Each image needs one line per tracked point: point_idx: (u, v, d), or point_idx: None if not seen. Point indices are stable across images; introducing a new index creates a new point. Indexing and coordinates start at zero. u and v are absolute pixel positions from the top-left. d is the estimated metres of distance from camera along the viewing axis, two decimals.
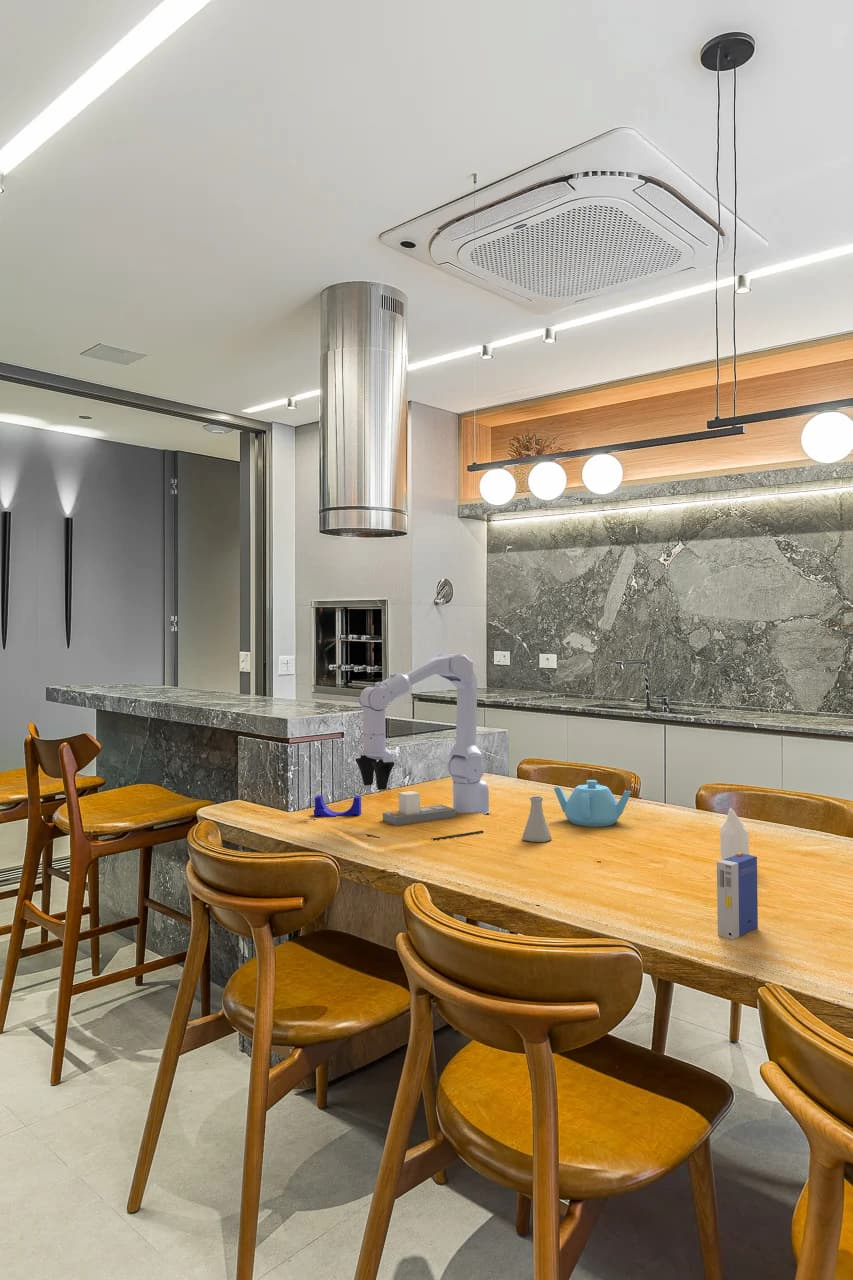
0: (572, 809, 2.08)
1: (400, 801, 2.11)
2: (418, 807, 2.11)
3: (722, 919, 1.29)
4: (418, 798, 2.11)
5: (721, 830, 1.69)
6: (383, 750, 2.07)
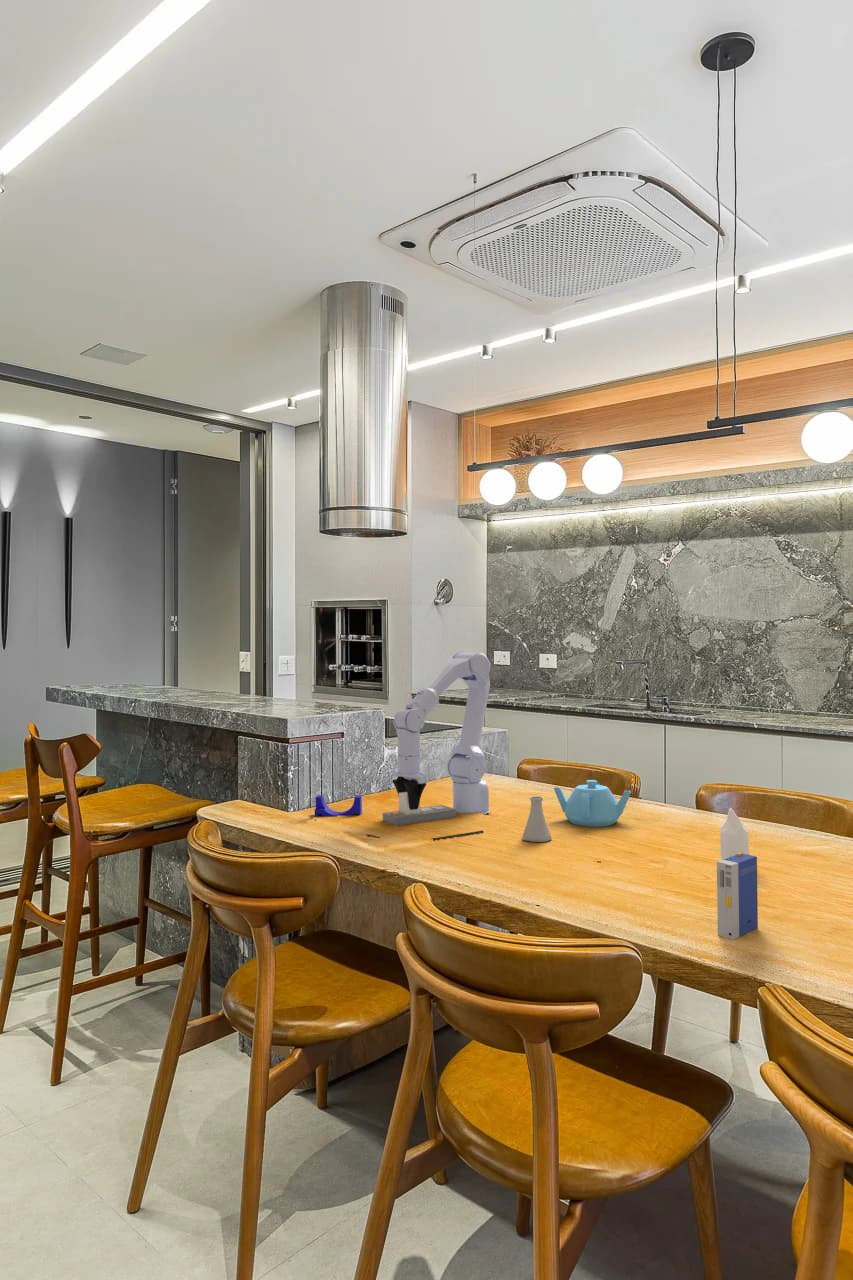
0: (572, 809, 2.08)
1: (400, 801, 2.11)
2: (418, 807, 2.11)
3: (722, 919, 1.29)
4: None
5: (721, 830, 1.69)
6: (418, 771, 2.10)
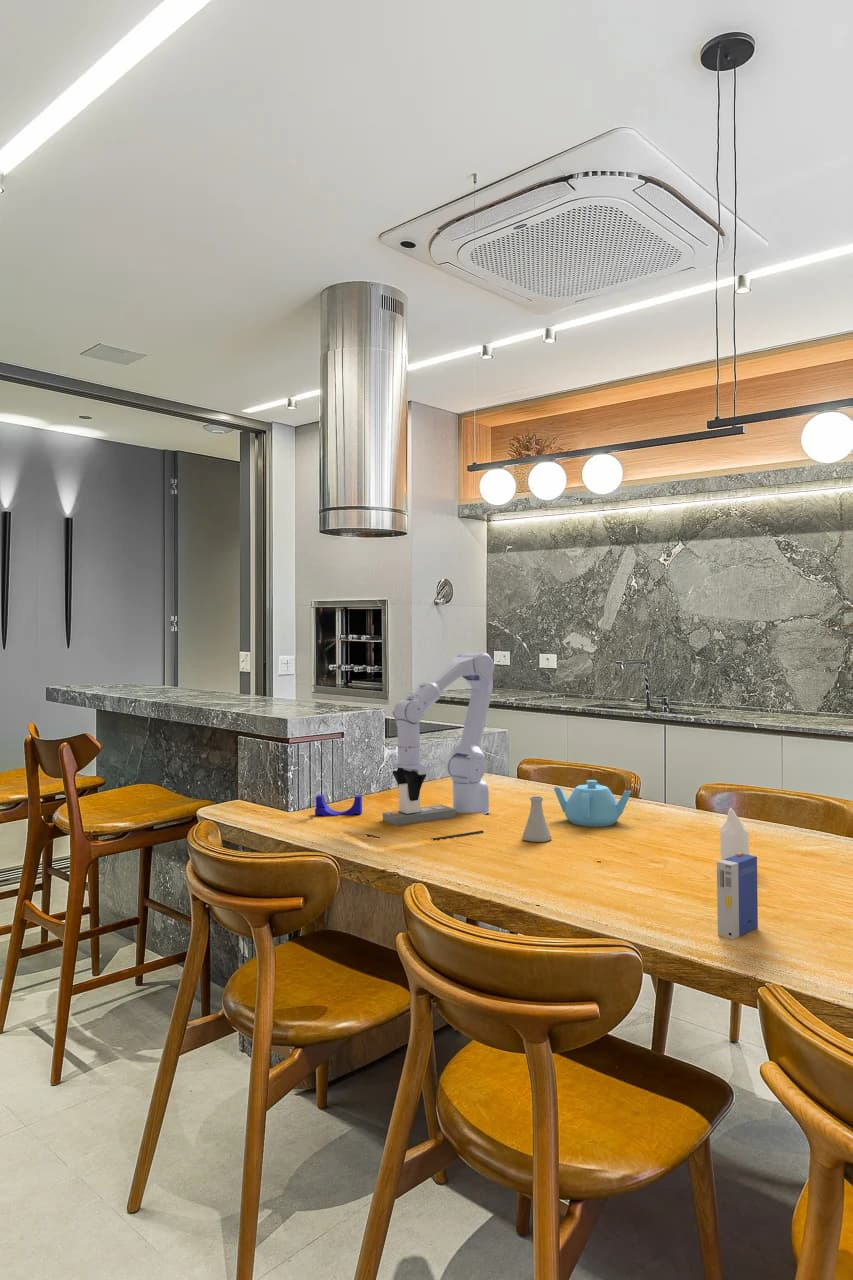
0: (572, 809, 2.08)
1: (400, 792, 2.11)
2: (418, 798, 2.11)
3: (722, 919, 1.29)
4: None
5: (721, 830, 1.69)
6: (418, 762, 2.10)
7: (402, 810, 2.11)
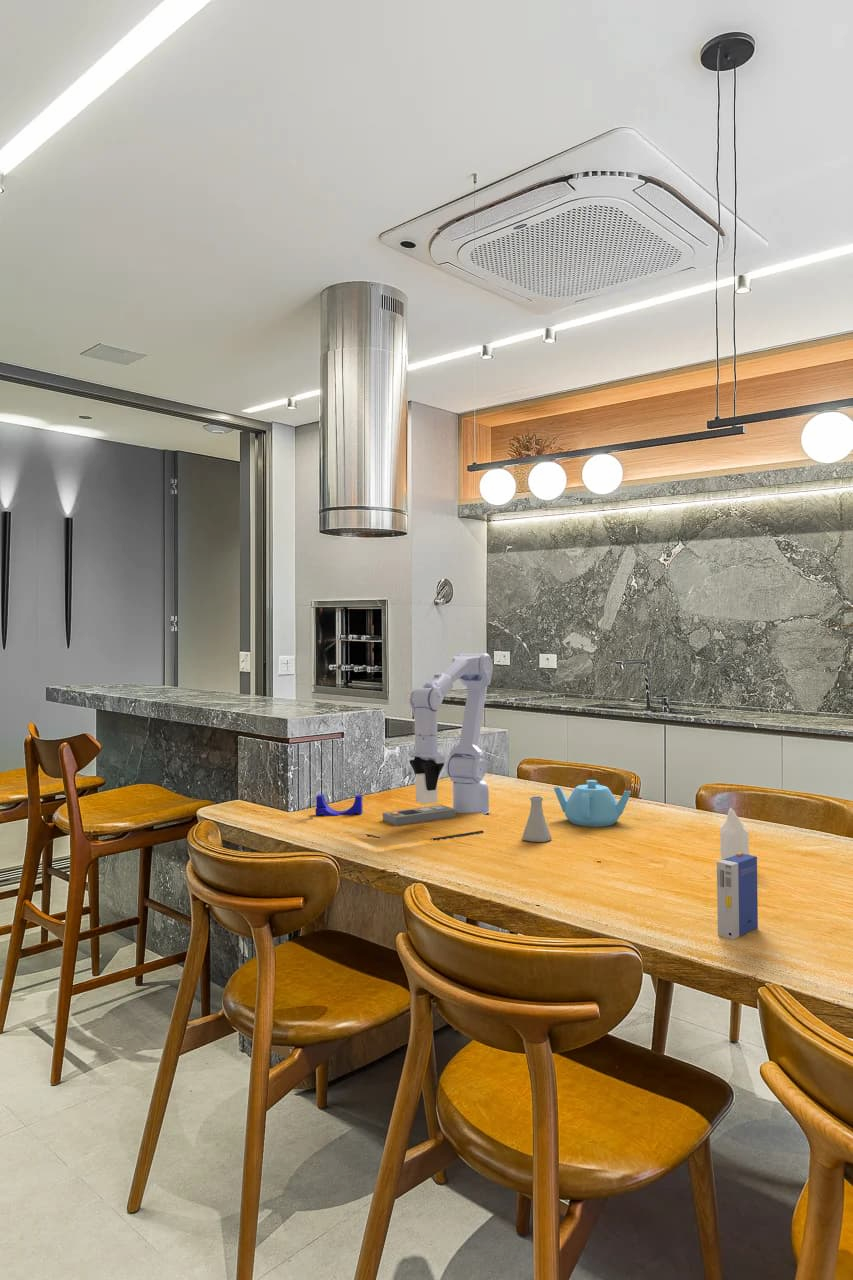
0: (572, 809, 2.08)
1: (417, 782, 2.06)
2: (435, 789, 2.06)
3: (722, 919, 1.29)
4: None
5: (721, 830, 1.69)
6: (435, 751, 2.05)
7: (419, 800, 2.06)
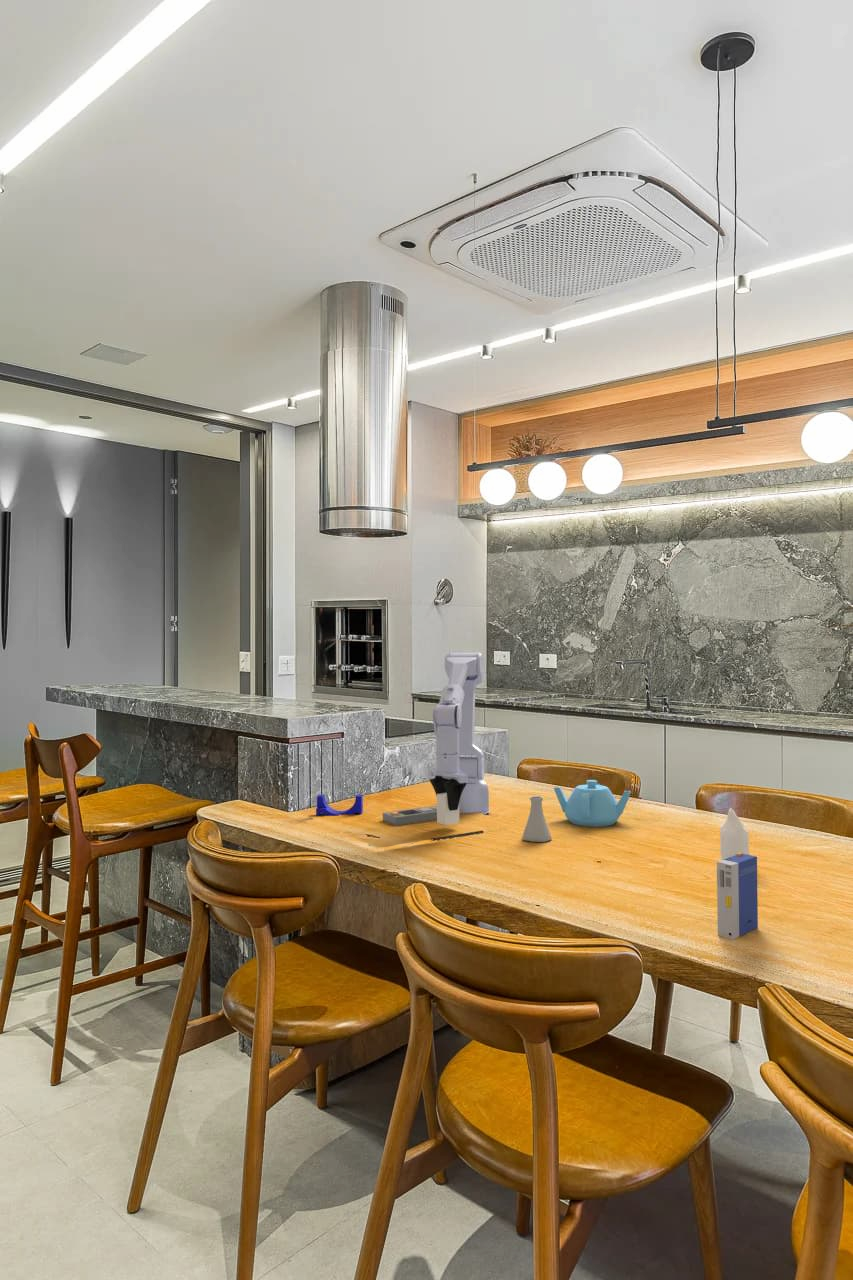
0: (572, 809, 2.08)
1: (438, 803, 2.01)
2: (457, 809, 2.00)
3: (722, 919, 1.29)
4: None
5: (721, 830, 1.69)
6: (457, 770, 1.99)
7: (440, 821, 2.00)
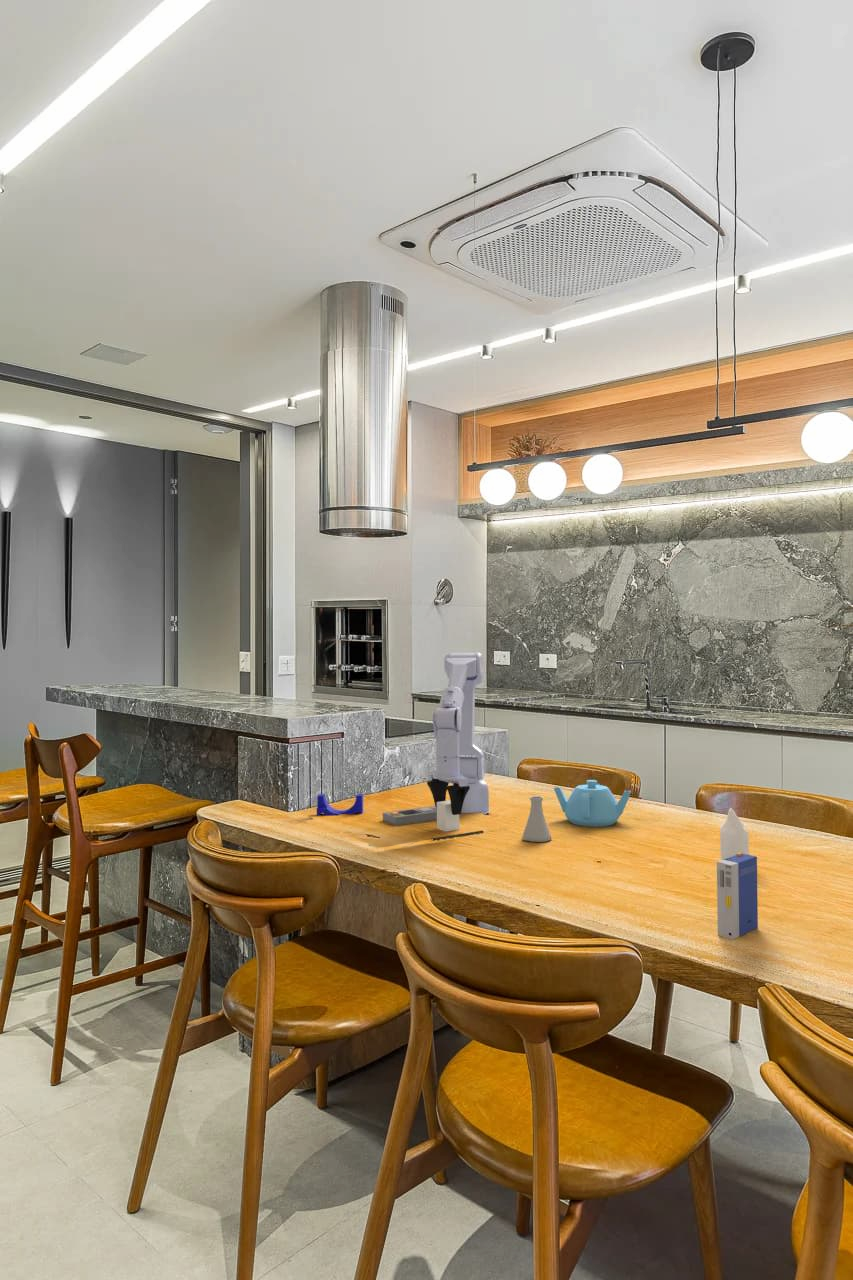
0: (572, 809, 2.08)
1: (438, 811, 2.01)
2: (457, 817, 2.00)
3: (722, 919, 1.29)
4: None
5: (721, 830, 1.69)
6: (457, 773, 1.99)
7: (440, 829, 2.00)
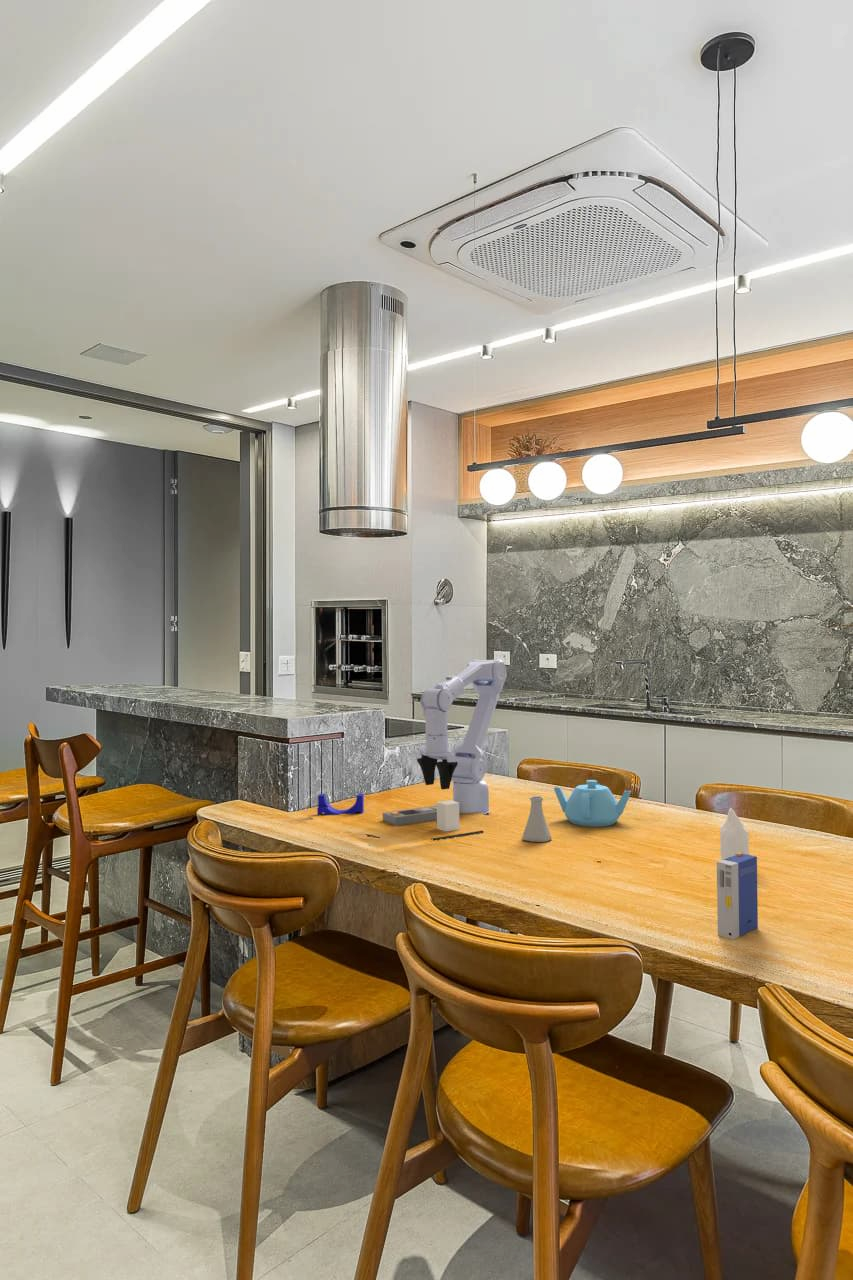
0: (572, 809, 2.08)
1: (438, 811, 2.01)
2: (457, 817, 2.00)
3: (722, 919, 1.29)
4: (457, 808, 2.00)
5: (721, 830, 1.69)
6: (446, 750, 2.11)
7: (440, 829, 2.00)
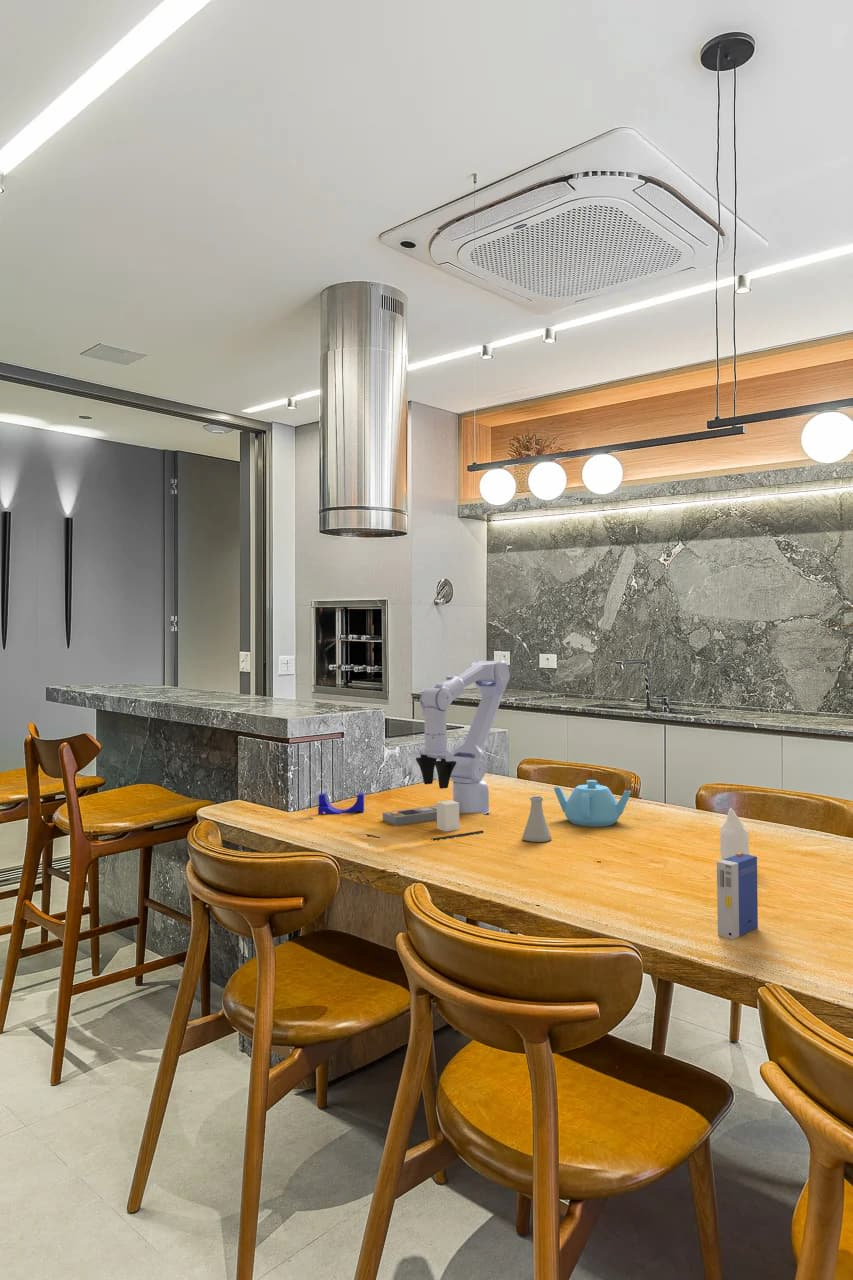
0: (572, 809, 2.08)
1: (438, 811, 2.01)
2: (457, 817, 2.00)
3: (722, 919, 1.29)
4: (457, 808, 2.00)
5: (721, 830, 1.69)
6: (444, 750, 2.12)
7: (440, 829, 2.00)
